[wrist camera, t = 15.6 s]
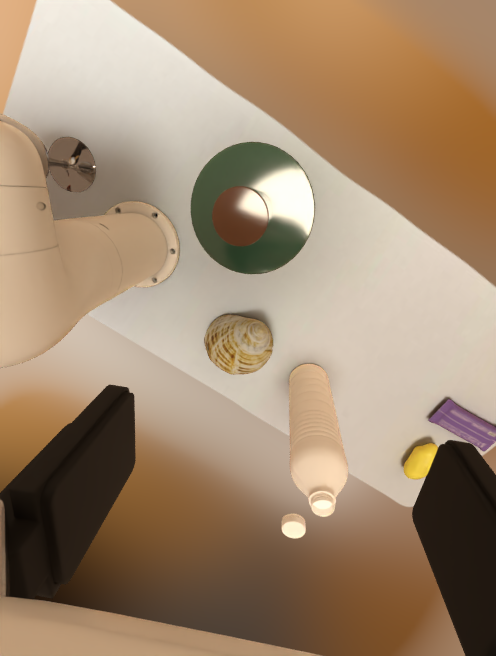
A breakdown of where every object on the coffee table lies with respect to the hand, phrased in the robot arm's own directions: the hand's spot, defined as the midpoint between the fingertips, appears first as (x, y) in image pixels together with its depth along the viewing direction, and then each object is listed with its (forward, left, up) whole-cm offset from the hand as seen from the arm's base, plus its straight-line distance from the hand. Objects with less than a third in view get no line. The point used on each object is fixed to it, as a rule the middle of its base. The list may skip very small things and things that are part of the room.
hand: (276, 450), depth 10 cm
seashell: (-5, -14, -42) cm, 44 cm away
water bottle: (+6, -21, -42) cm, 47 cm away
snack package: (+33, -26, -40) cm, 58 cm away
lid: (-3, +6, -15) cm, 16 cm away
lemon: (+28, -32, -41) cm, 59 cm away
